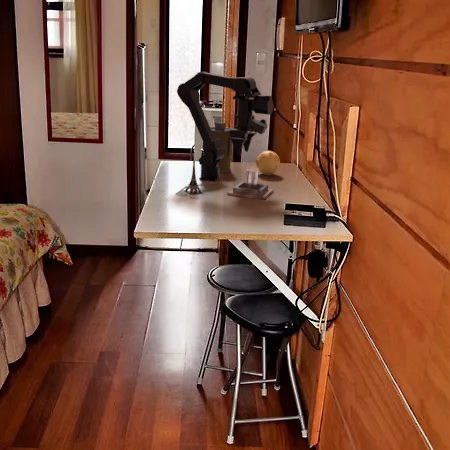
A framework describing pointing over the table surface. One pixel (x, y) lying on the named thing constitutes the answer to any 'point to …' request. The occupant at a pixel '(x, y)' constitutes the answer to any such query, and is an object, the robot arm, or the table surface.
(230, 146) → the canister
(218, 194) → the table surface
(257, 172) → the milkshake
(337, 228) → the table surface
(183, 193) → the eiffel tower figurine
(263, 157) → the stress ball
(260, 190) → the frame
